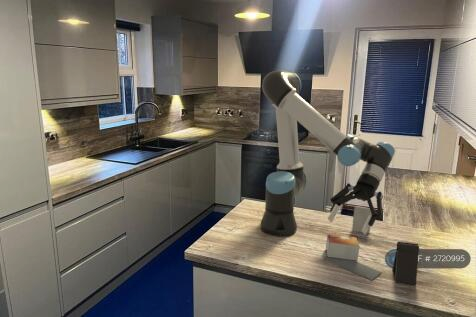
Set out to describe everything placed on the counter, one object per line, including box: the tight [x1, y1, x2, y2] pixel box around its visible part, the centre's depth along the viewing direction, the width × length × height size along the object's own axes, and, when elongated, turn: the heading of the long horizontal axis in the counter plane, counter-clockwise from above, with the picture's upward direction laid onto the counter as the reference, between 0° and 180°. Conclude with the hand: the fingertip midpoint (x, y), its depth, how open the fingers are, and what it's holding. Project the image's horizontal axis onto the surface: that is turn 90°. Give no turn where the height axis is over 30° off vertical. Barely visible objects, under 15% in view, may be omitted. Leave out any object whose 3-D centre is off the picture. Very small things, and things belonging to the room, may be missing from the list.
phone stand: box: [391, 241, 420, 287], centre depth 115 cm, size 9×6×12 cm, turn 163°
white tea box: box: [351, 205, 372, 234], centre depth 149 cm, size 4×7×10 cm, turn 65°
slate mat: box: [323, 256, 382, 282], centre depth 123 cm, size 18×6×1 cm, turn 43°
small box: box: [325, 233, 360, 261], centre depth 129 cm, size 8×6×10 cm
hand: (346, 226), depth 129 cm, fingers open, 13 cm apart
